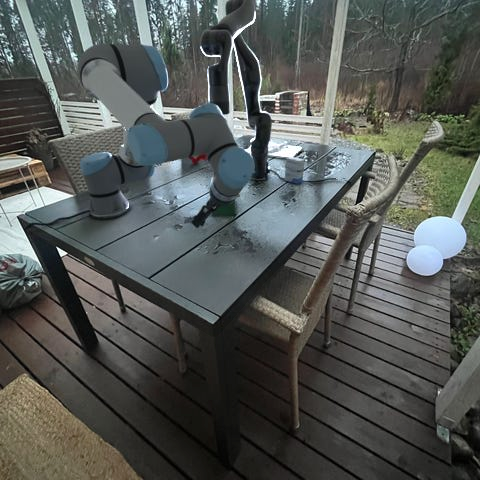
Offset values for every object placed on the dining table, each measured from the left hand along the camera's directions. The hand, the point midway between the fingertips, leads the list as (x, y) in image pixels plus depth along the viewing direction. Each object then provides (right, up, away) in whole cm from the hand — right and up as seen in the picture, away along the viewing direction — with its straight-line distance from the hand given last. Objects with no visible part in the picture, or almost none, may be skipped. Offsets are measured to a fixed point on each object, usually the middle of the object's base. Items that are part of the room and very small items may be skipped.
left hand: (213, 209), depth 90 cm
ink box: (+37, +21, +53) cm, 68 cm away
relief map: (+33, +53, +104) cm, 121 cm away
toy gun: (-13, +38, +80) cm, 89 cm away
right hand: (+1, +27, +16) cm, 32 cm away
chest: (+2, +3, +27) cm, 27 cm away
